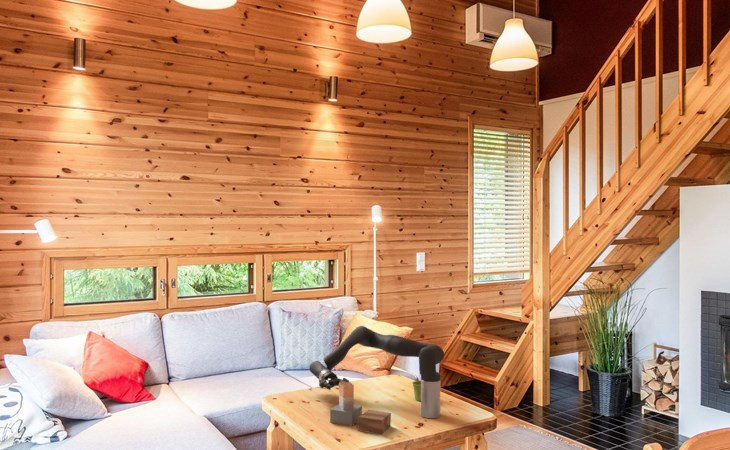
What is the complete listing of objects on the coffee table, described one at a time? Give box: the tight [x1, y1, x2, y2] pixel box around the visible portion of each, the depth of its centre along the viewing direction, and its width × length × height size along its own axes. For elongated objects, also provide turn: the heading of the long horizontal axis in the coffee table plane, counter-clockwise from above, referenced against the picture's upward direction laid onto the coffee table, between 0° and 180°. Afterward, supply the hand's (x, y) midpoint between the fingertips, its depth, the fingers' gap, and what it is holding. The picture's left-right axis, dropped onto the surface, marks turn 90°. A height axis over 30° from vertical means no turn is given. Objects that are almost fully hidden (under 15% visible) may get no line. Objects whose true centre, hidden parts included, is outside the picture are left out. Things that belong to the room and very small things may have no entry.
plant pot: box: [411, 380, 421, 402], centre depth 308 cm, size 9×9×9 cm
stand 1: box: [329, 403, 363, 427], centre depth 276 cm, size 11×11×6 cm
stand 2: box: [357, 409, 392, 435], centre depth 265 cm, size 11×11×6 cm
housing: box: [338, 381, 355, 410], centre depth 276 cm, size 5×6×11 cm
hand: (338, 387), depth 286 cm, fingers open, 8 cm apart
